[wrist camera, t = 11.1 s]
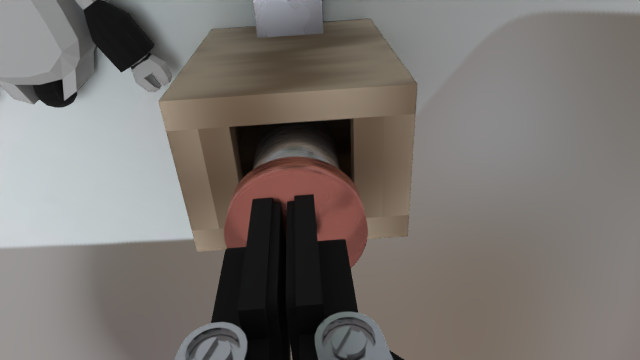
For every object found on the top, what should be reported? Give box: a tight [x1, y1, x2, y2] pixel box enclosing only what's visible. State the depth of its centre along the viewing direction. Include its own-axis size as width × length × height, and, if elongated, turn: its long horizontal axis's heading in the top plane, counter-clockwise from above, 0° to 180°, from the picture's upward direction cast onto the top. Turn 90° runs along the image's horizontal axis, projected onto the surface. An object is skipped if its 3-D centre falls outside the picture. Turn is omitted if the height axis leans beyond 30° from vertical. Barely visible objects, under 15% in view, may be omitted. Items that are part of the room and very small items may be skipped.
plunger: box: [224, 120, 368, 268], centre depth 15 cm, size 4×4×6 cm
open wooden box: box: [159, 19, 417, 252], centre depth 19 cm, size 8×6×10 cm
